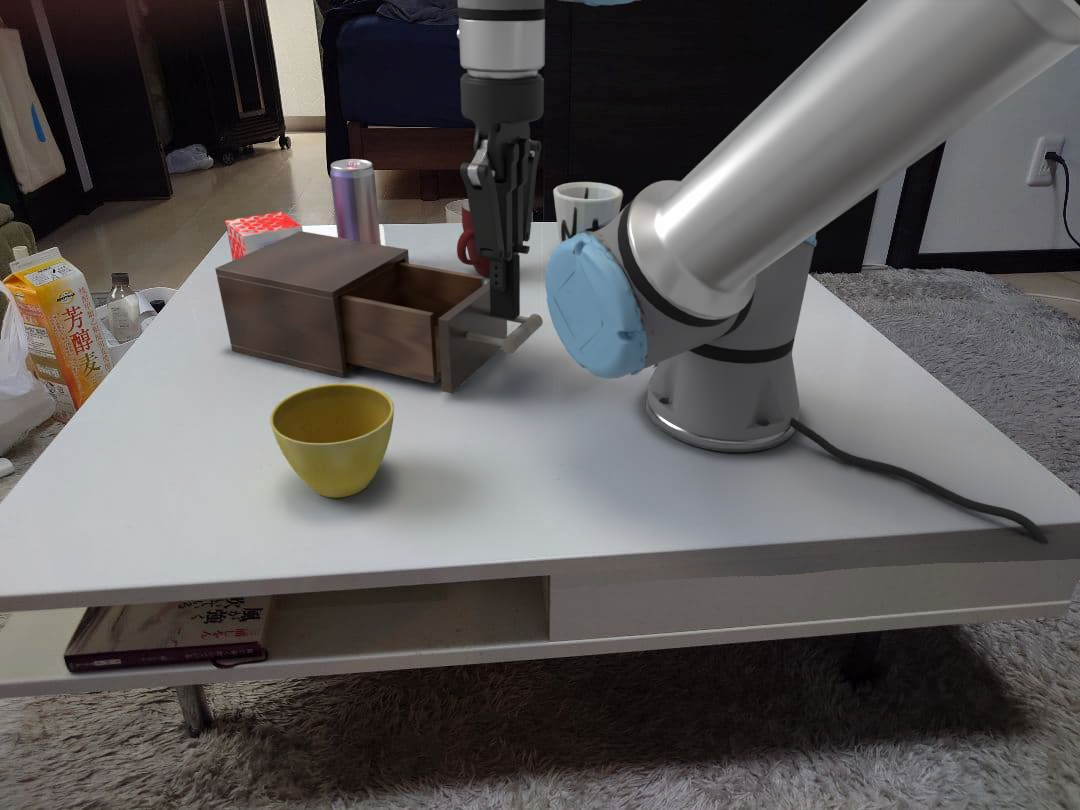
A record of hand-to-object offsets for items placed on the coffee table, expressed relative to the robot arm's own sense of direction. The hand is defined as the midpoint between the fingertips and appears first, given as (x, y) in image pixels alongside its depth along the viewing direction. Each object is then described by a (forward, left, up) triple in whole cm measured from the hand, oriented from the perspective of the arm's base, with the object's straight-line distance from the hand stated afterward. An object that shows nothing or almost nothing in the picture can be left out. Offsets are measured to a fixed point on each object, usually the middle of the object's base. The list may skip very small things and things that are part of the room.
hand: (505, 315), depth 81 cm
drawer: (+7, 0, -7) cm, 10 cm away
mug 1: (+16, -27, -8) cm, 33 cm away
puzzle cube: (+43, -13, -8) cm, 46 cm away
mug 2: (+7, -44, -8) cm, 45 cm away
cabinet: (+24, 0, -8) cm, 25 cm away
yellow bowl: (+5, +23, -8) cm, 25 cm away
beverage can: (+34, -22, -8) cm, 41 cm away
